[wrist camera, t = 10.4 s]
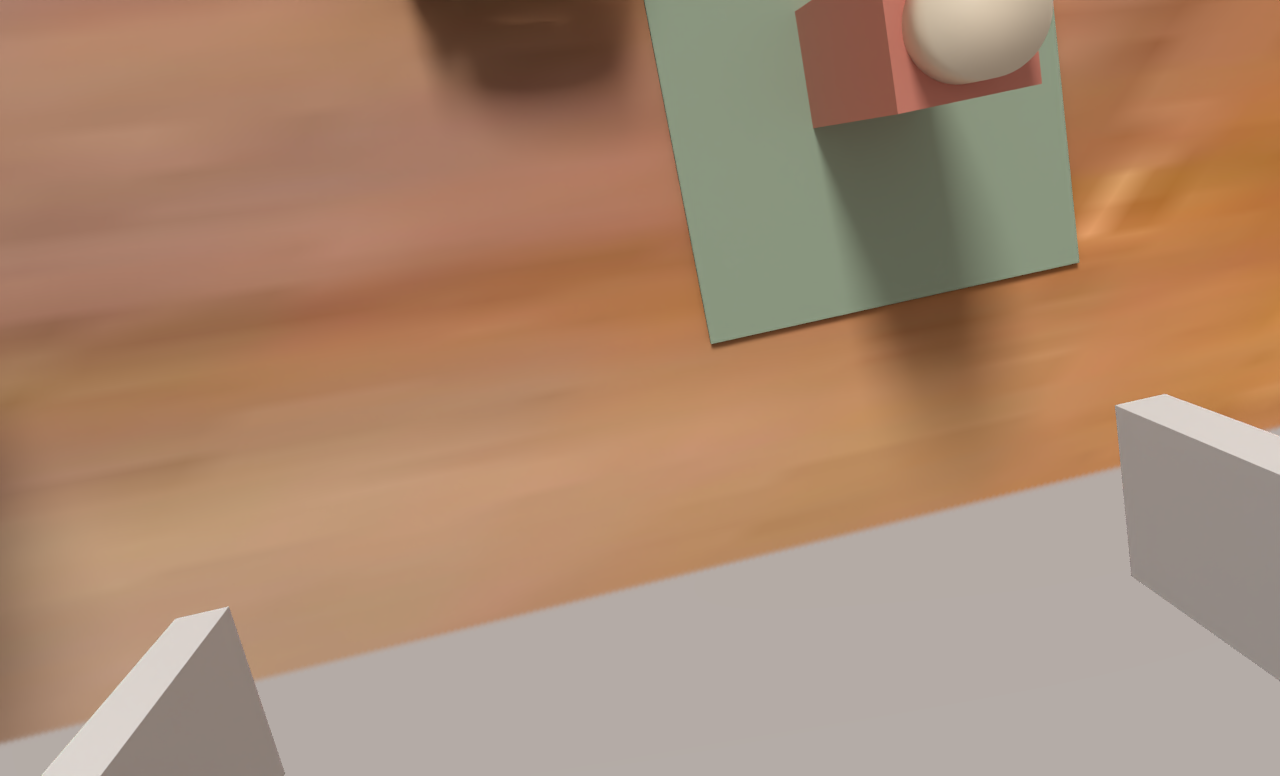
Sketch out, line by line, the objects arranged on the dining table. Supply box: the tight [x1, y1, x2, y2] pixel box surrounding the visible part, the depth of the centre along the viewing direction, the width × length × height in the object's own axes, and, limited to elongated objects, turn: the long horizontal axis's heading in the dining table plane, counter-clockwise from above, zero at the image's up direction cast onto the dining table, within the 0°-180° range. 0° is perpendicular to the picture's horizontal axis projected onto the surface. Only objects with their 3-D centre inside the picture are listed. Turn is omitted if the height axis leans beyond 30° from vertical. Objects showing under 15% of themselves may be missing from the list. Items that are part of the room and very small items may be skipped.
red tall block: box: [795, 0, 1053, 128], centre depth 33 cm, size 4×4×12 cm
